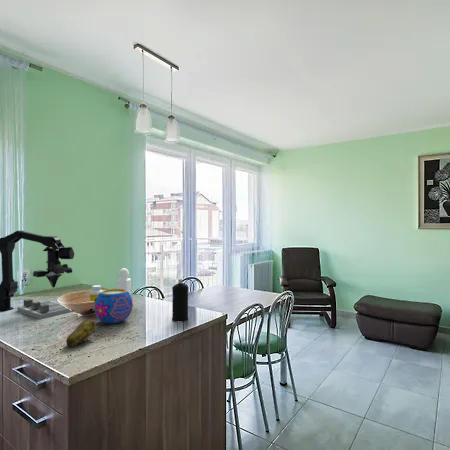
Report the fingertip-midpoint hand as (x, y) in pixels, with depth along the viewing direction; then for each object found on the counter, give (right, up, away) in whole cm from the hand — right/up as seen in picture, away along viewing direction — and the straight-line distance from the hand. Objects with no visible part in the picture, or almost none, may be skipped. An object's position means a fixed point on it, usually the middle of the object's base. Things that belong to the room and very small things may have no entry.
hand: (53, 287), depth 172 cm
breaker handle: (-5, -10, -7) cm, 13 cm away
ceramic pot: (+41, -13, -21) cm, 48 cm away
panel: (-2, -12, -3) cm, 13 cm away
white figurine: (+37, -12, +6) cm, 39 cm away
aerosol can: (+73, -13, -17) cm, 75 cm away
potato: (+37, -13, -47) cm, 61 cm away
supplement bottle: (+24, -12, +1) cm, 27 cm away
